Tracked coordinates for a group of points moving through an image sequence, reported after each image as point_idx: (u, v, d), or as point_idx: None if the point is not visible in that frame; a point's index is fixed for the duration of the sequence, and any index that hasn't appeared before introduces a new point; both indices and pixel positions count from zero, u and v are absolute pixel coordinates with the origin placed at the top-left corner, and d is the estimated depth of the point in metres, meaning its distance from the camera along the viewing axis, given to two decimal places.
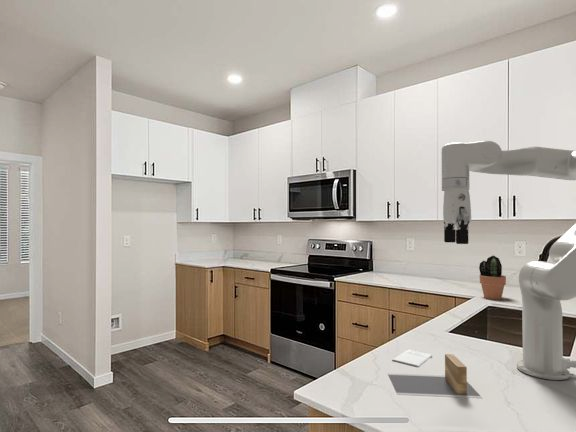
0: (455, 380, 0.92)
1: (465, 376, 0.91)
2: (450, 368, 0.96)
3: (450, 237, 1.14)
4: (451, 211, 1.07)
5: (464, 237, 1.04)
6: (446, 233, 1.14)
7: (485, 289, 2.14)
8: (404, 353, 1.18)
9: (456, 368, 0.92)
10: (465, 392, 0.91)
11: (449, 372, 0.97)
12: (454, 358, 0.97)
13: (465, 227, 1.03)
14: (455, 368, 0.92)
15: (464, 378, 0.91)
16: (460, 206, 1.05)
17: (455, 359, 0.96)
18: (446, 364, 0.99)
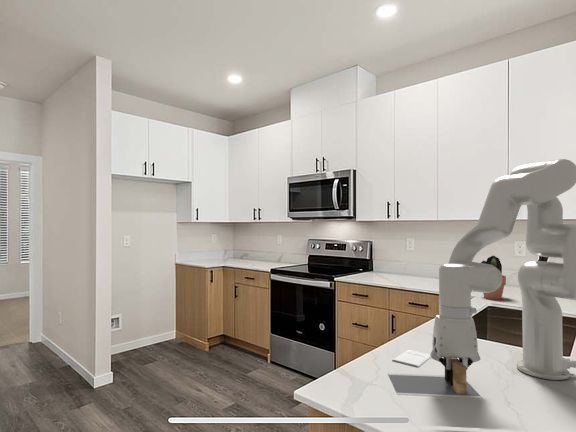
0: (455, 380, 0.92)
1: (465, 376, 0.91)
2: None
3: None
4: (471, 346, 0.93)
5: None
6: None
7: None
8: (404, 353, 1.18)
9: (456, 368, 0.92)
10: (465, 392, 0.91)
11: None
12: (454, 358, 0.97)
13: None
14: (455, 368, 0.92)
15: (464, 378, 0.91)
16: None
17: (455, 359, 0.96)
18: None
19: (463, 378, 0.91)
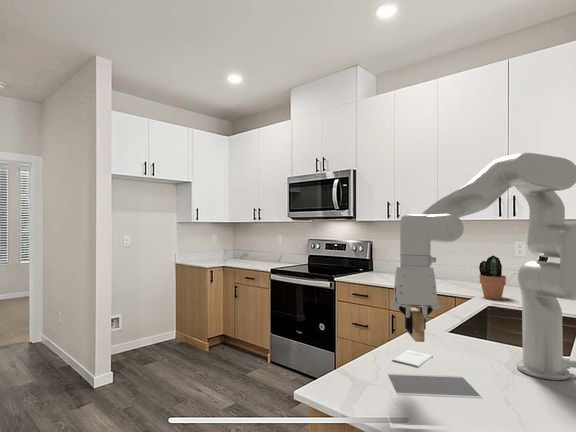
0: (414, 329, 0.94)
1: (423, 324, 0.92)
2: None
3: None
4: (430, 293, 0.94)
5: None
6: None
7: (485, 289, 2.14)
8: (404, 353, 1.18)
9: (414, 317, 0.93)
10: (423, 340, 0.92)
11: None
12: (415, 310, 0.98)
13: None
14: (414, 317, 0.94)
15: (422, 326, 0.92)
16: None
17: (415, 310, 0.97)
18: None
19: (421, 326, 0.92)
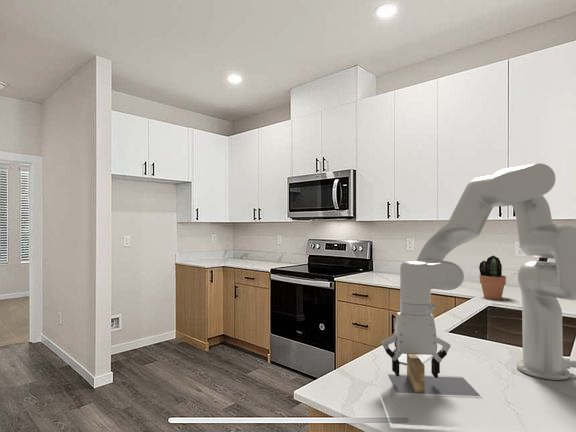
0: (414, 379, 0.93)
1: (423, 374, 0.92)
2: (410, 367, 0.97)
3: None
4: (430, 342, 0.94)
5: None
6: None
7: (485, 289, 2.14)
8: None
9: (414, 367, 0.93)
10: (423, 390, 0.92)
11: (410, 371, 0.97)
12: (415, 357, 0.98)
13: None
14: (414, 366, 0.93)
15: (422, 376, 0.92)
16: None
17: (415, 358, 0.97)
18: (407, 362, 1.00)
19: (421, 376, 0.92)
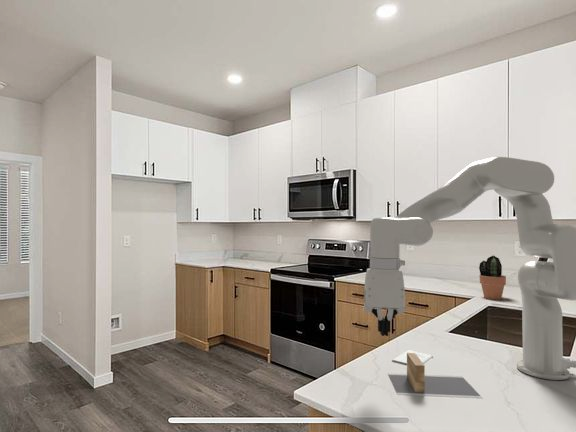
0: (414, 379, 0.93)
1: (423, 374, 0.92)
2: (410, 367, 0.97)
3: None
4: (398, 296, 0.95)
5: None
6: None
7: (485, 289, 2.14)
8: (404, 354, 1.18)
9: (414, 367, 0.93)
10: (423, 390, 0.92)
11: (410, 371, 0.97)
12: (415, 357, 0.98)
13: None
14: (414, 366, 0.93)
15: (422, 376, 0.92)
16: None
17: (415, 358, 0.97)
18: (407, 362, 1.00)
19: (421, 376, 0.92)
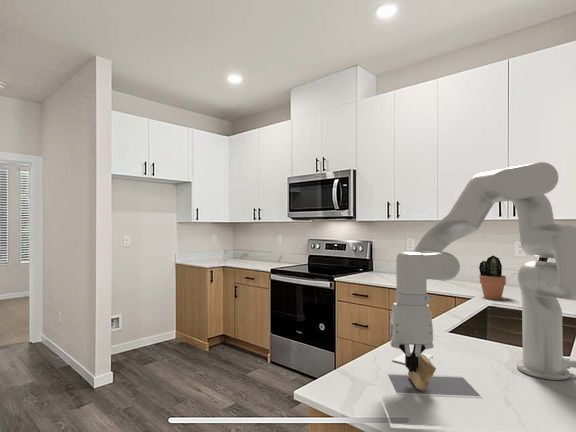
0: (419, 376, 0.93)
1: (430, 376, 0.92)
2: (418, 365, 0.97)
3: None
4: (426, 332, 0.94)
5: None
6: None
7: (485, 289, 2.14)
8: (404, 354, 1.18)
9: (425, 365, 0.92)
10: (423, 390, 0.92)
11: None
12: (426, 358, 0.97)
13: None
14: (424, 365, 0.93)
15: (429, 377, 0.92)
16: None
17: (426, 359, 0.97)
18: None
19: (428, 377, 0.92)
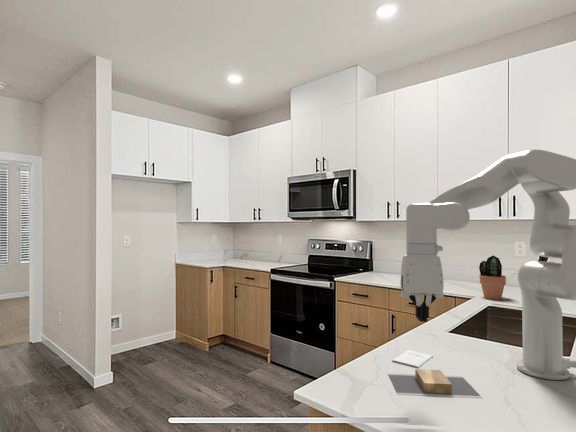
0: (433, 381, 0.93)
1: (442, 391, 0.91)
2: (436, 375, 0.96)
3: None
4: (436, 281, 0.95)
5: None
6: None
7: (485, 289, 2.14)
8: (404, 354, 1.18)
9: (448, 383, 0.92)
10: (426, 390, 0.92)
11: (430, 374, 0.97)
12: None
13: None
14: (446, 381, 0.93)
15: (440, 390, 0.91)
16: None
17: None
18: (431, 370, 0.99)
19: (440, 389, 0.91)
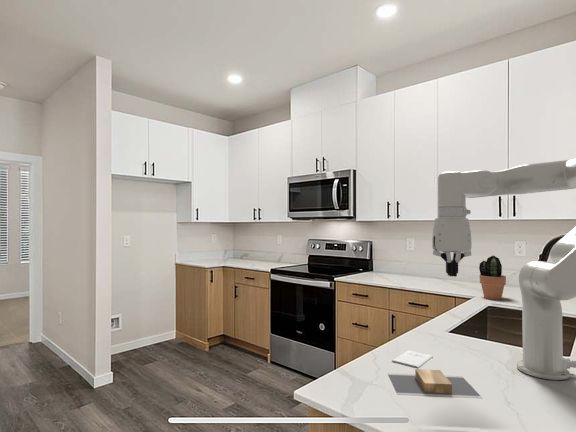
0: (433, 381, 0.93)
1: (442, 391, 0.91)
2: (436, 375, 0.96)
3: None
4: (465, 240, 1.07)
5: None
6: None
7: (485, 289, 2.14)
8: (404, 354, 1.17)
9: (448, 383, 0.92)
10: (426, 390, 0.92)
11: (430, 374, 0.97)
12: None
13: None
14: (446, 381, 0.93)
15: (440, 390, 0.91)
16: None
17: None
18: (431, 370, 0.99)
19: (440, 389, 0.91)
